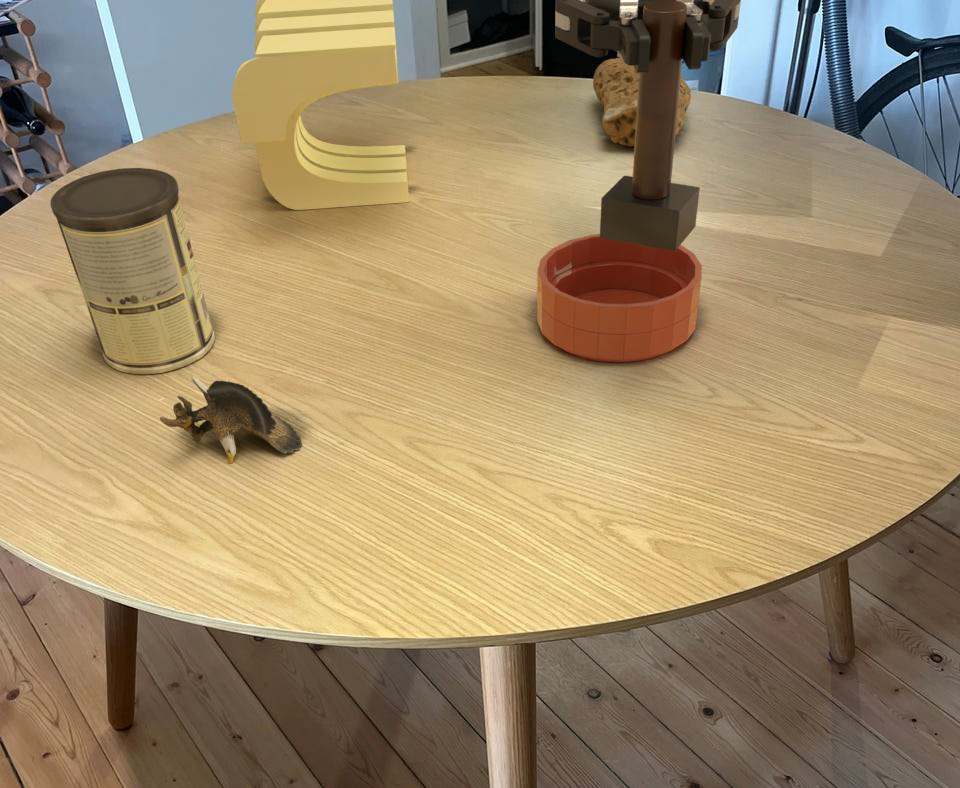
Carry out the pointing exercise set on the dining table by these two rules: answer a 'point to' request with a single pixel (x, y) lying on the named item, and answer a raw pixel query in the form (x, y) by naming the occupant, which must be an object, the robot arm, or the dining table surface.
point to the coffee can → (135, 268)
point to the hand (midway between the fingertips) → (670, 53)
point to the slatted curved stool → (306, 78)
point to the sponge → (626, 99)
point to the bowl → (617, 298)
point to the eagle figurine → (233, 417)
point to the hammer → (654, 146)
